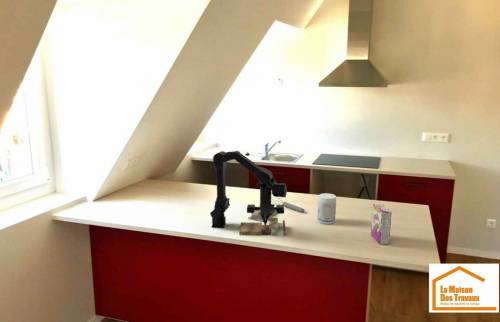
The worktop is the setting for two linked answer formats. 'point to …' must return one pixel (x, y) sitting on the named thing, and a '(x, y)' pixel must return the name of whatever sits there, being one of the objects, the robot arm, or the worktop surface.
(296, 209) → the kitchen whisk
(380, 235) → the candy bar box
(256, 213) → the packaged product
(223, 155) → the robot arm
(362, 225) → the worktop surface
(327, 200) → the supplement tub
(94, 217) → the worktop surface
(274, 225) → the birch block
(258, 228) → the trap deck
